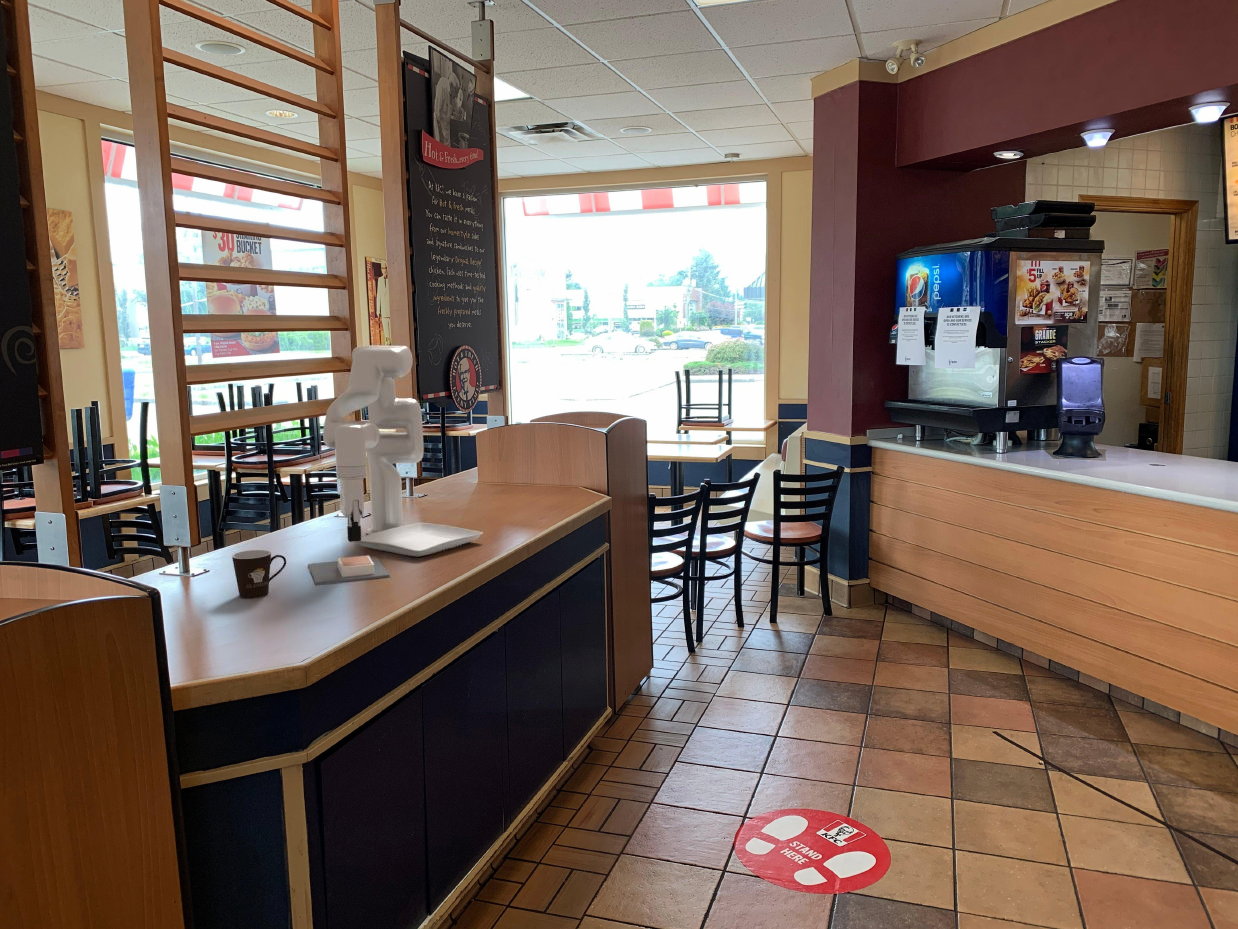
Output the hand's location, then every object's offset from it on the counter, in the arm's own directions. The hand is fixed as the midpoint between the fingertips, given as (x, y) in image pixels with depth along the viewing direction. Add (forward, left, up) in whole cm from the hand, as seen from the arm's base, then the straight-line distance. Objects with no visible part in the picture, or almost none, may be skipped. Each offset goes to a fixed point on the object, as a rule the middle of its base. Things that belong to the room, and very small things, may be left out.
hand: (354, 540), depth 231 cm
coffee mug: (+13, -24, -8) cm, 29 cm away
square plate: (-22, +22, -9) cm, 32 cm away
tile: (-3, 0, -6) cm, 7 cm away
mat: (0, -2, -8) cm, 8 cm away
